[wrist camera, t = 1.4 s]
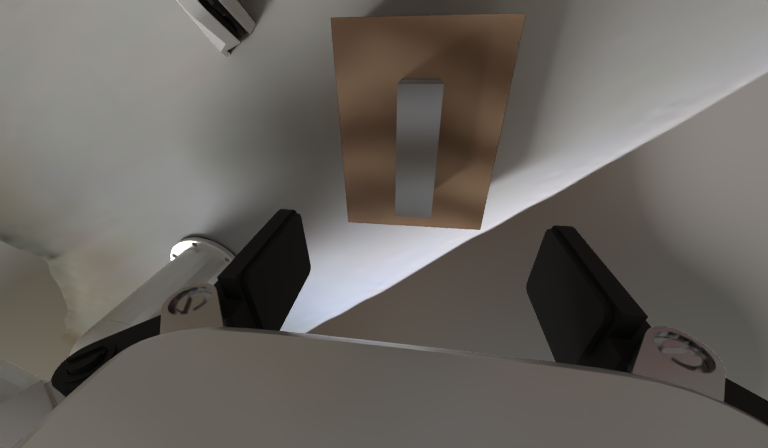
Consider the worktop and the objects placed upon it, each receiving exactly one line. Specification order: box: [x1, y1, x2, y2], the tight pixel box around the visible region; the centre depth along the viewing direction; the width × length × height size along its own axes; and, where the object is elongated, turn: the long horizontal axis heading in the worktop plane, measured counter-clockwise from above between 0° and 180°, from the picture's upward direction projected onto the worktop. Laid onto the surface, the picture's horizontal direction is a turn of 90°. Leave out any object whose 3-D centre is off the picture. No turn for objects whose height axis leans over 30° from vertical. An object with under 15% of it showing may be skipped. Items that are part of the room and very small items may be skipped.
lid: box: [331, 13, 526, 230], centre depth 23 cm, size 18×14×6 cm
